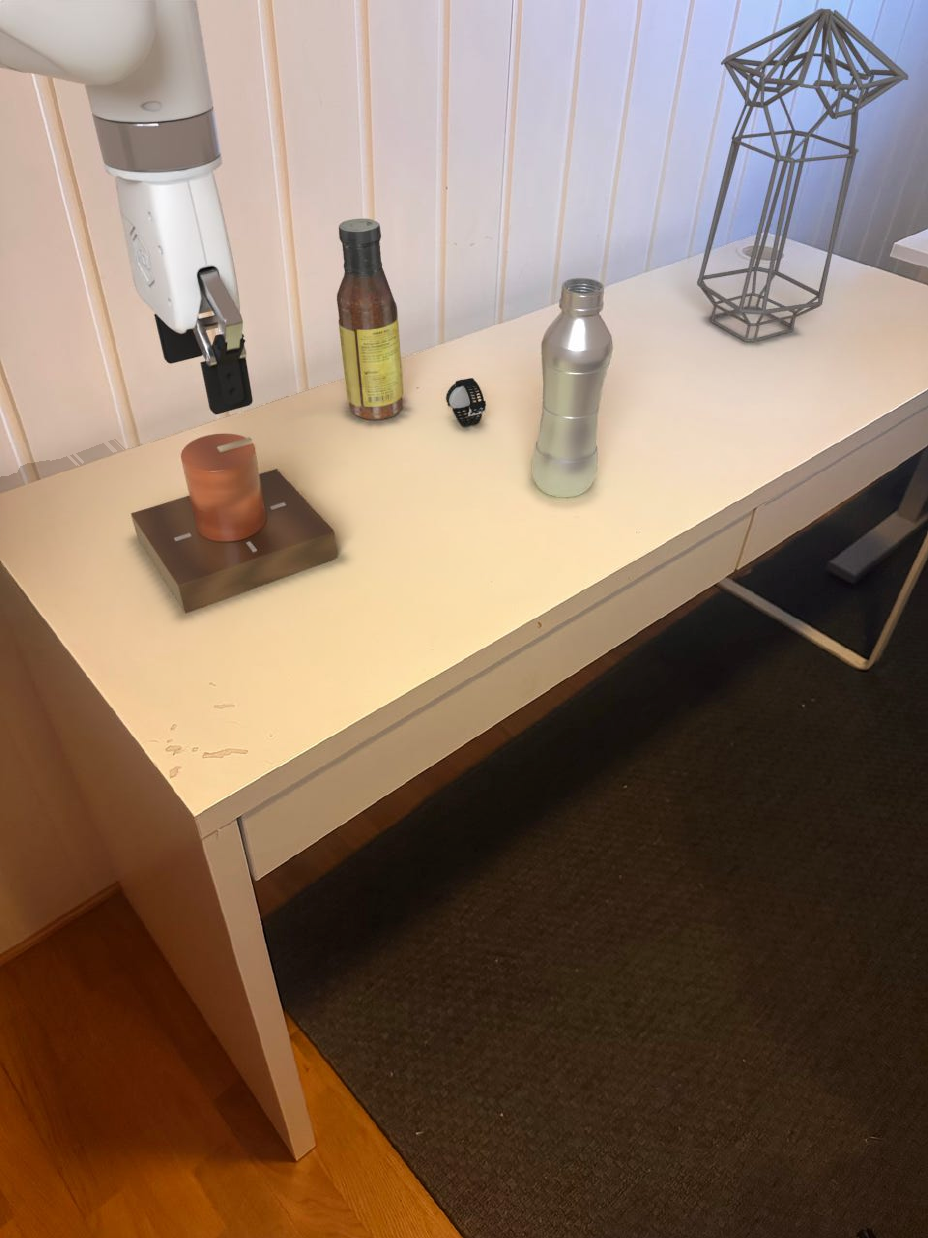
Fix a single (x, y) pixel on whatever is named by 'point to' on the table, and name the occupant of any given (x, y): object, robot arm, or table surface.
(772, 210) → the geometric lantern
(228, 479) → the rotary dial knob
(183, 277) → the robot arm
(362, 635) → the table surface
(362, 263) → the sauce bottle
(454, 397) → the smartwatch
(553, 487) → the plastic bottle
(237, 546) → the dial base plate
